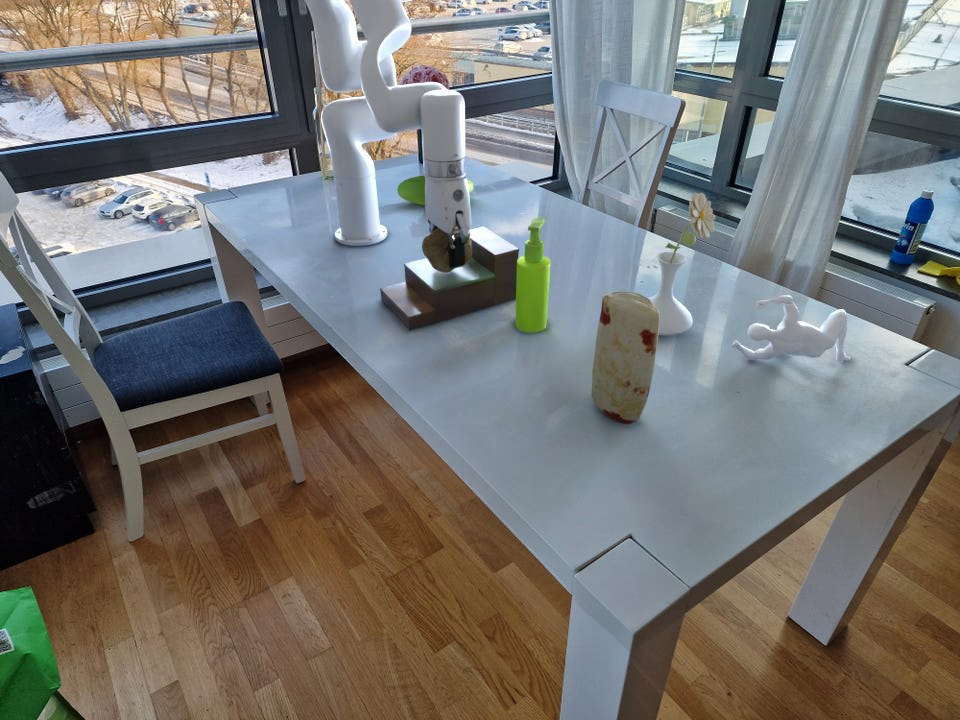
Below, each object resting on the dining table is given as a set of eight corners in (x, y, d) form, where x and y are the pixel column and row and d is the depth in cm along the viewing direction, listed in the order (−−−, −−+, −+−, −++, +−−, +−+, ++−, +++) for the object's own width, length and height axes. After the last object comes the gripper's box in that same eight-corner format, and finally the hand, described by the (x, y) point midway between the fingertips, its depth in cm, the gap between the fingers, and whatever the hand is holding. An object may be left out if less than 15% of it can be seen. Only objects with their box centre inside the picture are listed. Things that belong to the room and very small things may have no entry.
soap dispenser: (551, 317, 121) (557, 217, 110) (542, 335, 116) (548, 232, 105) (521, 312, 123) (525, 213, 112) (511, 329, 117) (514, 228, 106)
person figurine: (818, 278, 110) (762, 289, 100) (883, 322, 103) (830, 339, 93) (777, 336, 118) (722, 352, 108) (835, 380, 111) (782, 402, 101)
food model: (578, 406, 98) (590, 292, 87) (606, 389, 102) (620, 277, 90) (628, 437, 92) (648, 318, 81) (656, 418, 95) (679, 302, 84)
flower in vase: (656, 347, 112) (680, 212, 98) (616, 319, 120) (633, 190, 107) (710, 329, 117) (741, 198, 103) (668, 303, 125) (692, 179, 112)
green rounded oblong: (415, 179, 162) (482, 172, 171) (396, 175, 172) (460, 169, 181) (417, 210, 165) (483, 202, 174) (398, 205, 174) (461, 197, 184)
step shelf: (381, 301, 127) (375, 250, 121) (483, 274, 137) (483, 226, 131) (409, 331, 117) (405, 277, 111) (517, 299, 127) (519, 248, 121)
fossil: (414, 239, 118) (455, 216, 122) (410, 249, 122) (449, 226, 126) (442, 277, 118) (482, 253, 122) (436, 286, 122) (476, 262, 125)
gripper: (487, 176, 107) (487, 271, 117) (440, 151, 120) (444, 239, 130) (449, 183, 104) (452, 281, 114) (404, 157, 117) (411, 247, 127)
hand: (447, 258), depth 122 cm, fingers closed on fossil, 6 cm apart
